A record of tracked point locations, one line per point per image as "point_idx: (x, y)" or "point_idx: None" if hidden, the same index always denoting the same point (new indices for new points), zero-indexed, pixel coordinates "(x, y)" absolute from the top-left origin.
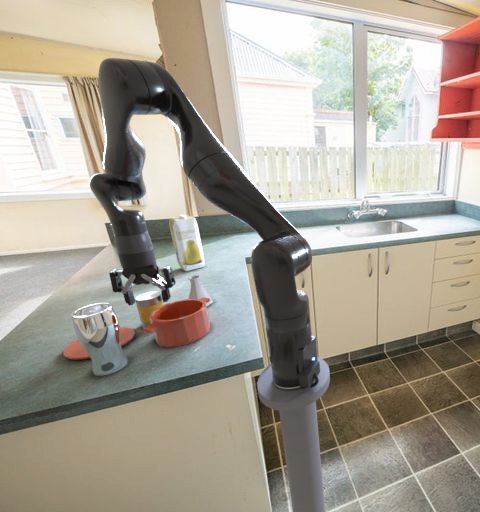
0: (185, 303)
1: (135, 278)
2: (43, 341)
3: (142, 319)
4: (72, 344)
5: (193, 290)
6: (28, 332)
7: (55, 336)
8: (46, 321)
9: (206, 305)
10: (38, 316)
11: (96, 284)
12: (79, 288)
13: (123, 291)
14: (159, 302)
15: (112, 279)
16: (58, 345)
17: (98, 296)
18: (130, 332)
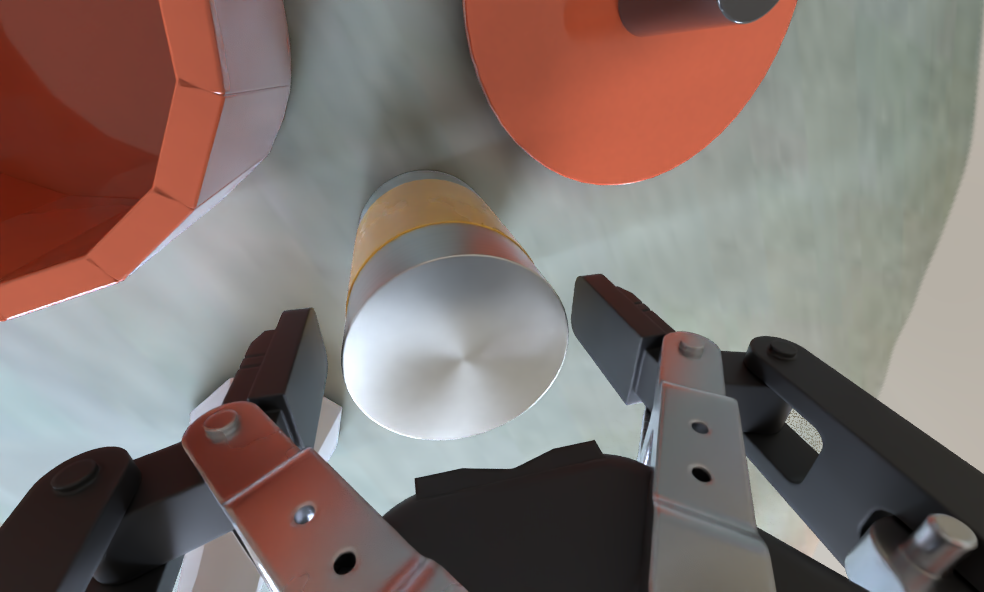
0: (14, 269)
1: (642, 557)
2: (873, 143)
3: (474, 197)
4: (781, 6)
5: None
6: (912, 240)
7: (838, 183)
8: (867, 317)
9: (196, 411)
10: (887, 353)
11: (766, 530)
12: None
13: (698, 347)
14: (348, 300)
15: (966, 482)
16: (822, 77)
17: (748, 471)
18: (507, 90)
